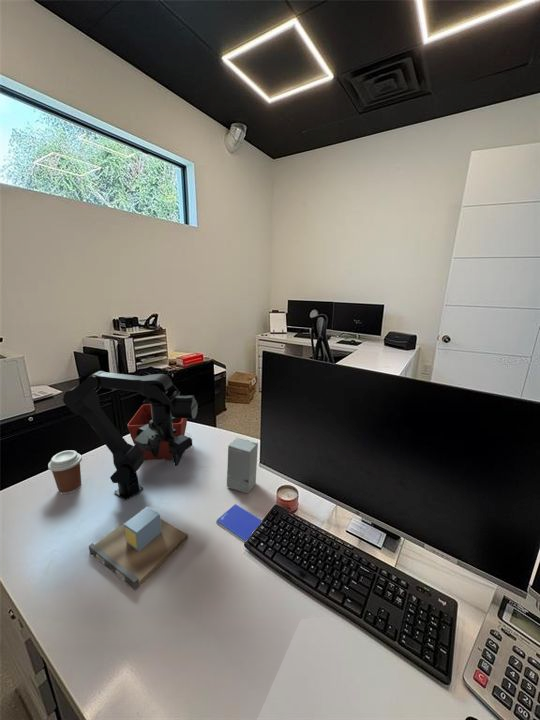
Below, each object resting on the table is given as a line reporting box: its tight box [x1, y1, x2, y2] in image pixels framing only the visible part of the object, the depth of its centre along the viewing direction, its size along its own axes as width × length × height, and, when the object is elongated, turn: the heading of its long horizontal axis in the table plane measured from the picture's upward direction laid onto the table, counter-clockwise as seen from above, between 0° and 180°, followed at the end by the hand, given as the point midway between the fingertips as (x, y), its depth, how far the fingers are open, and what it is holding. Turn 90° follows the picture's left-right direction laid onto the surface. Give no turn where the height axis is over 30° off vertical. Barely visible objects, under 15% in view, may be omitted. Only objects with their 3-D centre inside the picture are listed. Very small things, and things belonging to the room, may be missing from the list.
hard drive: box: [215, 503, 263, 543], centre depth 85 cm, size 2×8×12 cm
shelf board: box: [88, 508, 189, 591], centre depth 77 cm, size 18×16×2 cm
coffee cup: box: [47, 449, 83, 495], centre depth 97 cm, size 9×9×12 cm
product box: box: [124, 506, 162, 551], centre depth 78 cm, size 7×5×6 cm
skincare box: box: [226, 437, 259, 494], centre depth 99 cm, size 8×7×16 cm
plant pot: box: [127, 404, 188, 461], centre depth 118 cm, size 19×19×17 cm
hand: (166, 461), depth 93 cm, fingers open, 9 cm apart
